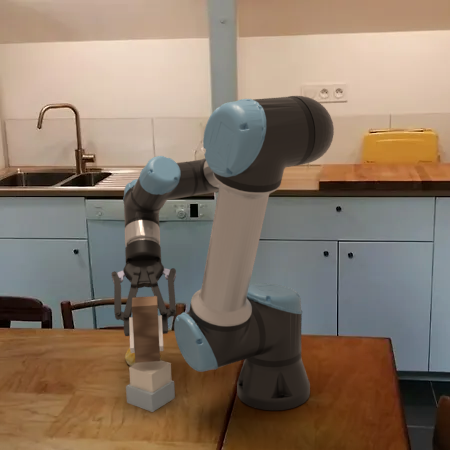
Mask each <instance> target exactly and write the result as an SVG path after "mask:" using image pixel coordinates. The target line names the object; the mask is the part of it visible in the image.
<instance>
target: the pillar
mask: <svg viewBox="0 0 450 450" xmlns="http://www.w3.org/2000/svg"><path fill="white" fill-rule="evenodd" d="M158 316H159V309H158V304H157V296H154V295H151V296H139V297H137V296H136V298H132V315H131V317H132V318H133V333H134V348H135V363H140V362H154V361H160V354H161V351H160V347H159V326H158Z"/></svg>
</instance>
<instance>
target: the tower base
mask: <svg viewBox="0 0 450 450" xmlns="http://www.w3.org/2000/svg"><path fill="white" fill-rule="evenodd" d="M125 392H126V394H125V395H126V403H127V404H130V405H132V406H135V407H138V408H141V409H143V410H146V411H149V412H152V413H154V412H155V411H156V410H158V409H159V408H161V407H163V406H165V405H167V404H168V403H169V402H170V401H172V400H174V399H176V393H175V392H176V391H175V381H174V380H172V381H171V382H169V383H167V384H166V385H164V386H163V387H161V388H159V389H158V390H156V391H155V392H153V393H152V392H149V391H146V390H143V389H140V388H137V387H134V386H131V385H130V383H128V384H127V385H125Z"/></svg>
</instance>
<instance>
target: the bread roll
mask: <svg viewBox="0 0 450 450" xmlns="http://www.w3.org/2000/svg"><path fill="white" fill-rule="evenodd" d="M124 358H125V361H126V364H128V365H129V367H131V366H133V365H134V364H136V363H135V353H131V351H130V347H129V348H128V349H127V351H126V353H125V356H124ZM160 360H162V354H161V353H160Z"/></svg>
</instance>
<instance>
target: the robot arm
mask: <svg viewBox="0 0 450 450" xmlns="http://www.w3.org/2000/svg"><path fill="white" fill-rule="evenodd" d="M334 129H335V128H334V122H333V119H332V117H331V114H330V112H328V110H327V109H326V107H325V106H324V105H323V104H322V103H320V102H319V101H317V100H316V99H314V98H311V97H308V96H303V95H289V96H281V97H268V98H267V97H266V98H257V99H256V98H255V99H252V98H242V99H238V100H236V101H228V102H225V103H222V104H221V105H220V106H218V107H217V108H215V109H214V111H213V112H212V113H211V115H210V116H209V118H208V120H207V123H206V124H205V128H204V132H203V139H202V145H203V149H205V152H204V158H202V159H196V160H192V161H182V162H176V161H175V160H174V159H172V158H170V157H167V156H164V155H157V156H154V157H152V158H150V159H149V160H148V162H147V163H146V165H145V166H144V167H143V168H142V169H141V170H140V173H139V175H138V176H139V177H138V178H136V179H133V180H131V181H130V182H128V183H127V184H126V185H125V187H124V191H123V210H124V245H125V251H124V253H125V265H124V267H123V269H122V270H120V271H118V272H117V271H112V272H111V278H112V282H113V284H114V293H113V294H114V297H113V298H114V299H113V300H114V301H113V302H114V308H113V309H114V318H115V319H116V320H117V321H119V320H120V321H122V322H123V333H124V336H125V337H129V348H130V351H131V353H135V348H134V333H133V318H132V298H136V297H137V294H138V292H139V289H141V288H151V291H152V294H153V296H157V304H158V313H159V315H158V326H159V347H160V352H163V351H164V335H165V334H166V335H167V334H168V333H169V322H168V321H169V320H168V319H169V318H171V317H175V319H174V324H173V328H174V329H173V330H174V336H175V340H176V343H177V344H176V345H177V347H178V349H179V352H180V353H181V355H182V358H183V360H184V361H185V363H187V364H188V366H189V367H190V368H192V369H193V370H194V371H197V372H207V371H211V370H218V369H220V368H222V367H225V366H229V365H231V364H234V363H238V362H240V361H243V364H242V367H241V369H240V373H239V376H238V379H237V384H236V386H237V387H236V392H237V393H236V394H237V397H238V398H239V400H240V401H241V402H242V403H243V404H245V405H247V406H249V407H252V408H254V409H257V410H263V411H284V410H290V409H294V408H297V407H299V406H301V405H303V404H304V403H306V402H307V401H308V399H309V398H310V395H311V394H310V393H311V389H310V388H311V384H310V380H309V378H308V375H307V372H306V367H305V365H304V362H303V359H302V317H303V315H302V314H303V310H302V298H301V295H300V293H299V292H297V291H296V290H295V289H294V288H291V287H288V286H284V285H281V284H275V283H268V282H267V283H266V282H263V283H261V282H260V283H251V279H252V274H253V269H254V266H255V261H256V256H257V252H258V247H259V244H260V238H261V234H262V228H263V225H264V224H263V223H264V220H265V215H266V211H267V206H268V201H269V197H270V194H272V193H274V192H275V191H278V189H279V188H280V187H281V185H282V180H283V177H284V171H285V169H286V168H290V167H296V166H302V165H306V164H310V163H312V162H315V161H317V160H318V159H320V158H321V157H323V156H324V155H325V154H326V153H327V151H328V150H329V149H330V147H331V145H332V142H333V139H334V133H335V131H334ZM212 193H213V194H214V193H215V194H217V198H216V199H217V200H216V204H215V210H214V215H213V220H212V227H211V230H210V231H211V232H210V238H209V243H208V244H209V245H208V248H207V255H206V261H205V266H204V273H203V278H202V284H201V288H200V289H199V290H197V291H195V293H194V294H192V297H191V301H190V303H189V304H190V306H189V311H187V312H185V311H183V312H182V313H181V314H178V315H177V305H176V292H175V280H176V277H177V270H176V268H174V267H173V268H170V269H169V268H166V267H164V265H163V263H162V250H161V248H162V247H161V232H160V230H161V229H160V211H161V210H162V208H163V206H165V204H166V202H167V201H168V200H176V199H181V198H187V197H193V196H198V195H199V196H200V195H204V194H205V195H207V194H212ZM163 275H164V276H165V277H164V278H165V280H167V289H168V290H167V291H168V302H169V308H168V309H167V307H166V304H165V301H164V299H163V296H162V295H163V294H162V293H161V290H160V287H159V284H158V282H159V280H160V279H161V278H162V276H163ZM125 277H126V279H127V280H128V281H129V283H130V287H129V292H128V295H127V299H126V303H125V308H124V311H122V285H121V283H123V282H124V278H125ZM176 315H177V316H176Z"/></svg>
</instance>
